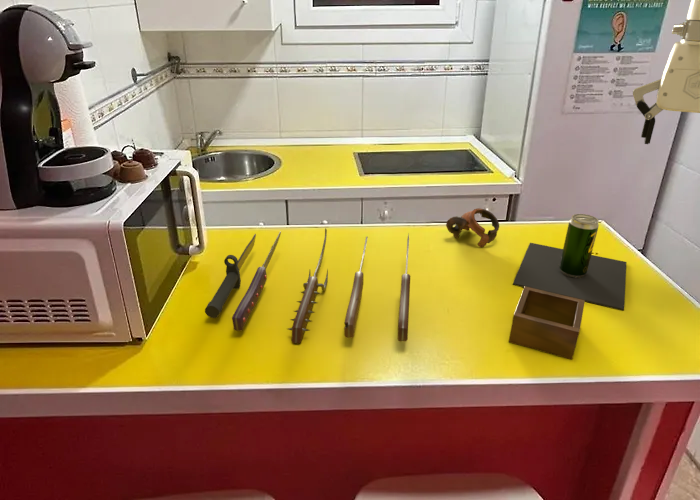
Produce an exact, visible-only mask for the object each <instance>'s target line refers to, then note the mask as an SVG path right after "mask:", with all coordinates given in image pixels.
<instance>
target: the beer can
mask: <svg viewBox="0 0 700 500" xmlns="http://www.w3.org/2000/svg"><path fill="white" fill-rule="evenodd" d="M599 226H600V225H599V219H598V218H597V217H595V216H594V215H590V214H586V213H574V214H572V215H571V217H570V219H569V221H568V224H567V229H566V235H565V237H564V238H565V239H564V243H563V247H562V249H563V252H562V256H561V260H560V265H559V268H560V272H561V273H562V274H564V275H566V276H568V277H572V278H581V277H583V276H585V274H586V273H587V270H588V266H589V262H590V258H591V255H593V250H594V246H595V243H596V237H597V234H598V230H599Z"/></svg>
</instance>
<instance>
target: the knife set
mask: <svg viewBox="0 0 700 500" xmlns="http://www.w3.org/2000/svg"><path fill="white" fill-rule="evenodd" d="M327 231H328V230H327V228H325V229H324V239H323V244H322V248H321V252H320V256H319V258H318V262H317V265H316V267H315V271H314V273H313V275H311V270H309V271H308V278H307V281H306V282H304V283H303V284H302V286H303V289H304V291H300V294H301V293H302V294H303V295H302V298H301V300H298V301H296V303H299V306H298V309H297V310H293V312H294V313H296V314H295V317H294V318H290V319H289V320H290V321H293V323H292V327H289V328H287V330H288V331H291V342H292V343H293V344H301V343H302V341H303V337H304V334H305V332H308V331H309V332H310V331H311V330H309V329H307V326H308V325H307V324H308V323H310V322H312V319H311V320H310V315H311V314H315V313H316V312H315V311H312V310H313V307H314V305H315V304H318V302H317V301H316V300H315V299H316V297H317V295H320V294H321V292H318V289H319V288H321V290H322V291H323V292H325V291H326V289H327V286H328V281H329V280H328V279H329V269H328V268H327V269H326V274H325V280H324V283H319V280H318V275H319V273H320V270H321V267H322V263H323V258H324V255H325V249H326V243H327V238H328V237H327V235H328V234H327V233H328V232H327ZM281 234H282V231H279V232H278V234H277V237H276V239H275V240H274V243H273V244H272V246H271V248H270V250H269V252H268V254H267V256H266V258H265V260H264V262H263V264H262V266H258V267H257V269H256V271H255V273H254V275H253V277H252V280H251V282H250V284H249V287H248V288H247V290H246V292H245V294H244V296H243V297H242V299H241V300H240V301H239V304H238V305H237V307H236V309H235V311H234V313H233V314H232V317H231V320H232V326H233V330H234V331H235V332H236V331H237V332H241V331H243V330H244V328H245V326H246V324H247V321H248V320H249V317H250V316H251V314H252V312H253V311H254V309H255V307H256V305H257V303H258V302H259V299H260V296H261V294H262V292H263V289H264V288H265V285H266V282H267V280H268V277H267V269H268V266H269V264H270V262H271V260H272V258H273V255H274V253H275V252H276V251H275V250H276V248H277V246H278V243H279V241H280V237H281ZM256 237H257V234H256V233H254V234H253V236H252V238H251V240H250V241H249V243H248V244H247V245H246V246H245V248H244V249H243V251H242V252H241V254H240V257H239V258H237V256H236V255H234V254H228V255H226V257H225V259H224V260H223V263H224V265H225V266H226V267H225V273H226V276H225V277H224V279H223V280H222V282H221V284H220V285H219V287H218V288H217V290H216V292H215V294H214V296H213V297H212V299H211V300H210V301H209V302H208V303H207V305H206V306H205V309H204V313H205V315H206V316H207V317H209V318H212V319H216V318H218V317H219V316H220V314H221V313H222V311H223V307H224V305H225V303H226V302H227V300H228V298H229V297H230V295H231V293H232V291H233V290H240V288H241V283H242V282H241V273H240V270H241V269H242V267H243V266H244V263H245V262H246V260H247V258H248V257H249V255H250V254H251V252H252V251H253V249H254V246H255V243H256ZM368 238H369V237H368V236H365V239H364V240H365V241H364V245H363V251H362V256H361V257H362V258H361V261H360V266H359V271H356V272H355V273H354V277H353V283H352V288H351V293H350V297H349V301H348V302H349V303H348V305H347V309H346V313H345V318H344V322H343V323H344V327H343V333H344V334H343V335H344V337H345V338H346V339H353V338H354V337H355V332H356V327H357V322H358V318H359V312H360V307H361V302H362V295H363V290H364V272H363V271H362V270H363V266H364V260H365V255H366V249H367V243H368ZM409 249H410V233H409V232H408V234H407V239H406V257H405V273H403V274H402V275H401V280H400V294H399V306H398V307H399V308H398V310H399V311H398V321H397V341H399V342H407V341H408V339H409V337H408V335H409V318H410V317H409V316H410V296H411V293H410V292H411V274H409V273H408V267H409V266H408V265H409V262H408V261H409ZM229 260H231V261H233V263H231V262H229Z"/></svg>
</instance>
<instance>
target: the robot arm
mask: <svg viewBox="0 0 700 500" xmlns="http://www.w3.org/2000/svg"><path fill="white" fill-rule="evenodd" d="M671 34H672V35H677V36H679V37H680V41H675V42H674V44H673V46H672V48H671V51H670V52H669V56H668V59H667V61H666V63H665V66H664V68H663V72H662V75H661V78H660V79H657V80H655V81H652V82H649V83H646V84H644V85H641V86H639V87H636V88H634V89H633V90H632V95H633V99H634V102H635V105H636V108H637V109H638V111H639V112H640V113H641V114H642V116H643V117H644V122H643V127H642V130H641V135H640V138H643V139H644V145H649V144H651V140H652V137H653V132H654V128H655V125H656V118H655V117H656V116H657V115H658V114H659V113H661V112H662V111H664V110H665V111H669V112H679V113H680V112H681V113H682V112H683V113H695V114H700V0H690V3H689V7H688V11H687V15H686V19H685V21H683V22H682V23H679V24H673V27H672V30H671ZM654 91H657V93H656V102H654V103H653V104H652V105H651V106H649V105H648V104H647V102H646V101H645V99H644V95H646V94H649V93H651V92H654Z"/></svg>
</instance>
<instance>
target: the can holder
mask: <svg viewBox="0 0 700 500" xmlns="http://www.w3.org/2000/svg"><path fill="white" fill-rule="evenodd" d="M585 303H586V302H585V300H581V299H577V298H573V297H569V296H564V295H560V294H556V293H551V292H547V291H543V290H539V289H534V288H530V287H526V286H524V287H523V289H522V292H521V294H520V297H519V300H518V302H517V305H516V307H515V310H514V313H513V316H512V321H511V328H510V332H509V338H508V343H511V344H514V345H517V346H522V347H524V348H528V349H532V350H536V351H539V352H543V353H546V354H550V355H553V356H558V357H560V358H565V359H567V360H568V359H569V360H573V359H574V354H575V351H576V347H577V344H578V343H577V342H578V339H579V335H580V331H581V326H582V320H583V314H584V308H585Z"/></svg>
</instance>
